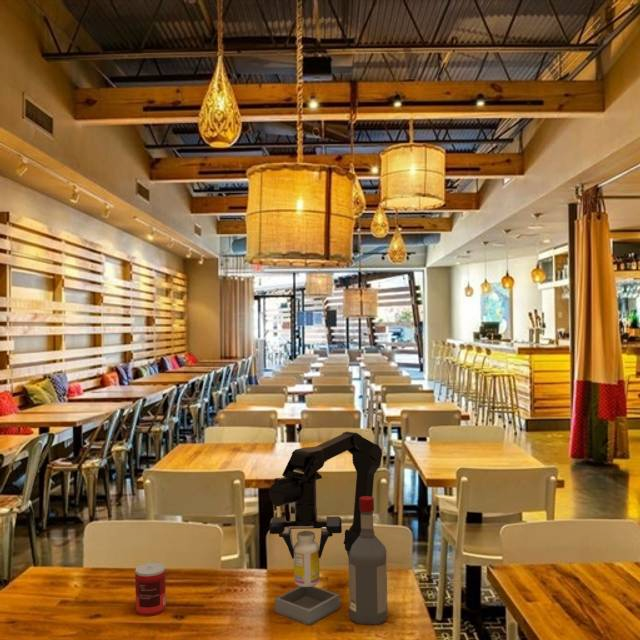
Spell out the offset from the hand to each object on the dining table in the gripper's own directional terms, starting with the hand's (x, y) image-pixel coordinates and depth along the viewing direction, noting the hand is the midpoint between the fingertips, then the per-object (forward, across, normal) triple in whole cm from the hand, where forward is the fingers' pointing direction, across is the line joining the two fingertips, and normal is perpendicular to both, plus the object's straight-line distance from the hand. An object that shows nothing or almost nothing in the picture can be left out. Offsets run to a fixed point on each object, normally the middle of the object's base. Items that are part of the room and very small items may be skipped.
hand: (306, 557), depth 165 cm
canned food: (+14, +41, 0) cm, 43 cm away
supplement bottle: (+7, 0, 0) cm, 7 cm away
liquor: (+13, -16, +5) cm, 21 cm away
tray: (+13, 0, +1) cm, 13 cm away
